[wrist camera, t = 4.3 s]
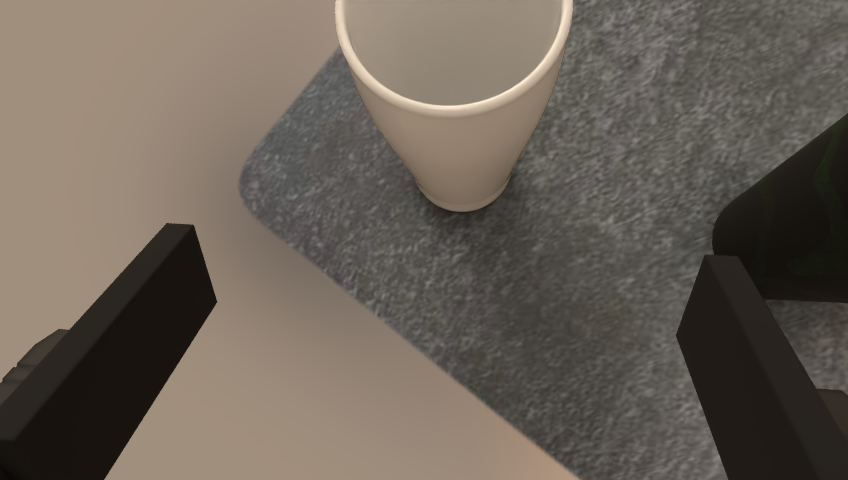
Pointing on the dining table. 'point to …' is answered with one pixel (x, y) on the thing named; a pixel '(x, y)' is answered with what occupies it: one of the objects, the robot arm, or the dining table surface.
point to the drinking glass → (455, 84)
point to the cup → (795, 224)
